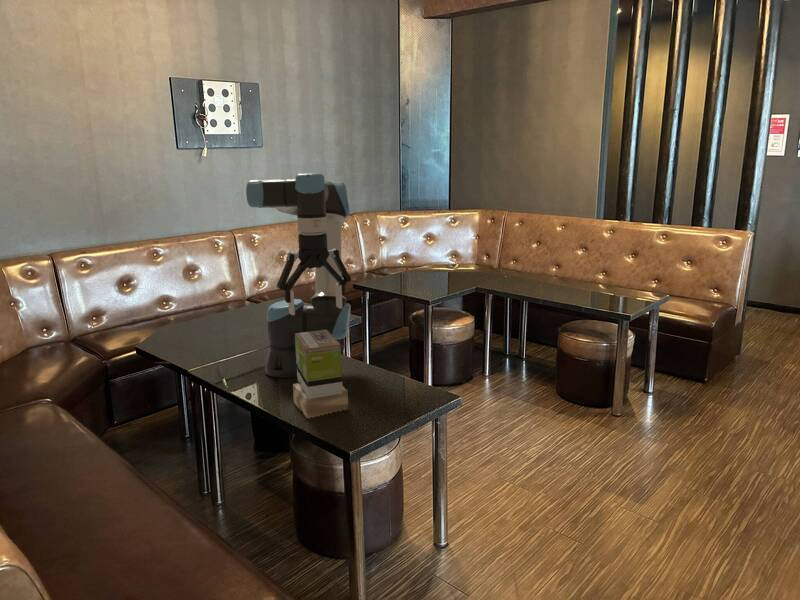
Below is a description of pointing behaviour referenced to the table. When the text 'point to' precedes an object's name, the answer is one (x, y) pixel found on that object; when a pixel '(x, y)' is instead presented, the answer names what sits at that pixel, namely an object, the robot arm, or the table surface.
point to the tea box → (318, 363)
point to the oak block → (319, 402)
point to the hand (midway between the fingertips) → (316, 310)
